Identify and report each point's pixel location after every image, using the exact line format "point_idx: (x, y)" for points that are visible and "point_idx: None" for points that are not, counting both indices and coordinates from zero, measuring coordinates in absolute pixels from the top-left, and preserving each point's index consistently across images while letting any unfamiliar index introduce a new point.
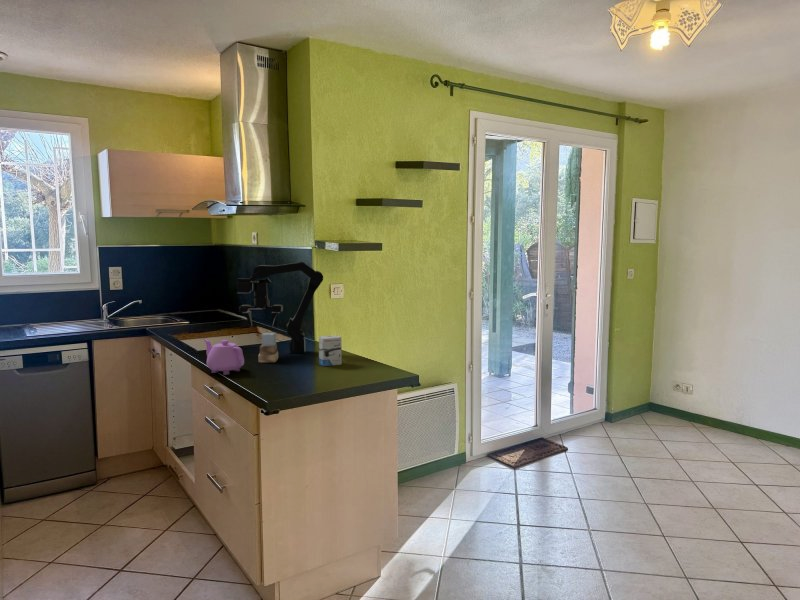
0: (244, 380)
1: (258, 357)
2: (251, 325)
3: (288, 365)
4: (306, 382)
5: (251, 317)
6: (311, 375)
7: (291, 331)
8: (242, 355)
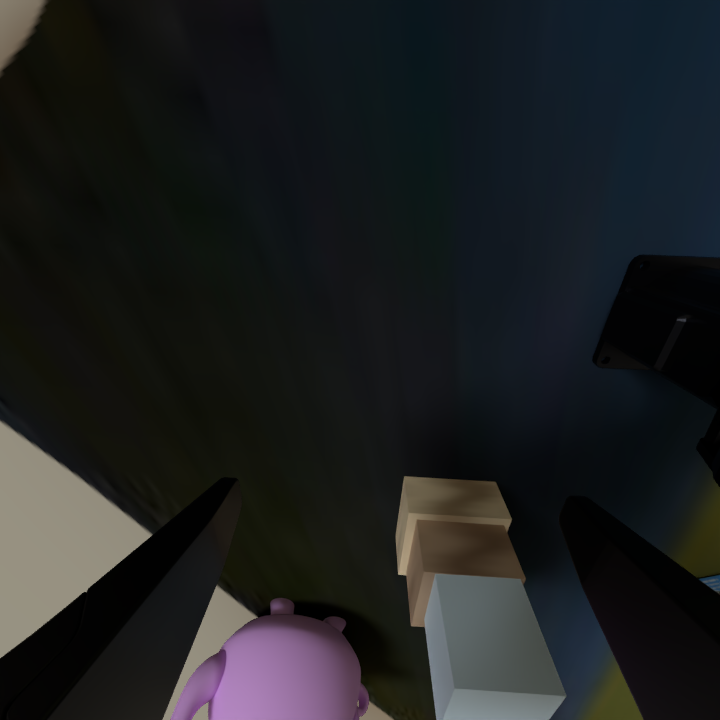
0: (385, 690)
1: (397, 559)
2: (231, 540)
3: (534, 586)
4: (561, 712)
5: (89, 673)
6: (593, 676)
7: None
8: (354, 712)
